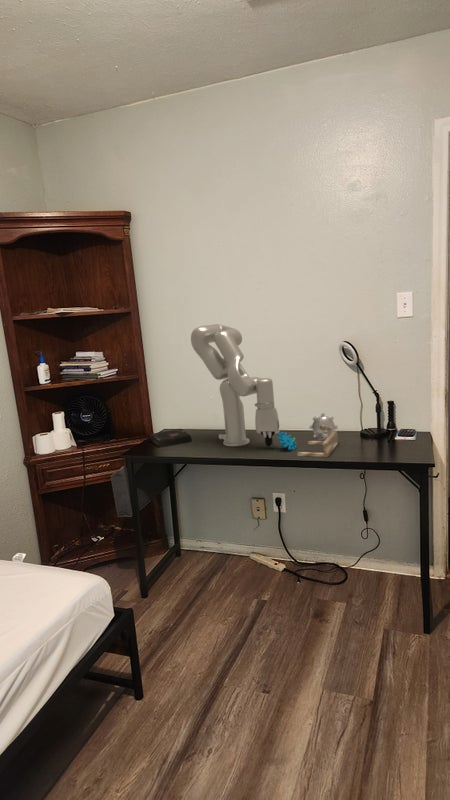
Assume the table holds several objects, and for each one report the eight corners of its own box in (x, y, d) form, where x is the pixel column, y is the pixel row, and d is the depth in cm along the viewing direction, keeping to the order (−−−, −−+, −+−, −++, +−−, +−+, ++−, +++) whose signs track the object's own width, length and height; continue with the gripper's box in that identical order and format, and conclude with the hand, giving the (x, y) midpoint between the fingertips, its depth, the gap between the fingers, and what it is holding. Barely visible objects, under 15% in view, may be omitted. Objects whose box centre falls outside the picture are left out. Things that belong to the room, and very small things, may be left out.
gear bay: (297, 456, 219) (296, 442, 218) (308, 443, 237) (308, 430, 236) (327, 457, 213) (326, 443, 212) (337, 443, 231) (336, 431, 230)
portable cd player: (192, 442, 257) (191, 434, 257) (159, 448, 252) (158, 440, 251) (182, 435, 273) (181, 428, 272) (151, 441, 267) (150, 434, 266)
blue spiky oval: (288, 449, 223) (275, 432, 227) (280, 458, 226) (268, 440, 231) (303, 446, 231) (290, 429, 236) (295, 454, 235) (282, 437, 239)
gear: (310, 442, 237) (308, 414, 235) (311, 440, 240) (310, 413, 238) (337, 443, 232) (335, 414, 230) (338, 441, 235) (337, 413, 233)
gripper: (247, 407, 230) (250, 447, 234) (279, 407, 224) (282, 448, 227) (253, 404, 237) (256, 442, 240) (284, 404, 231) (287, 443, 234)
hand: (269, 445), depth 234 cm, fingers closed
